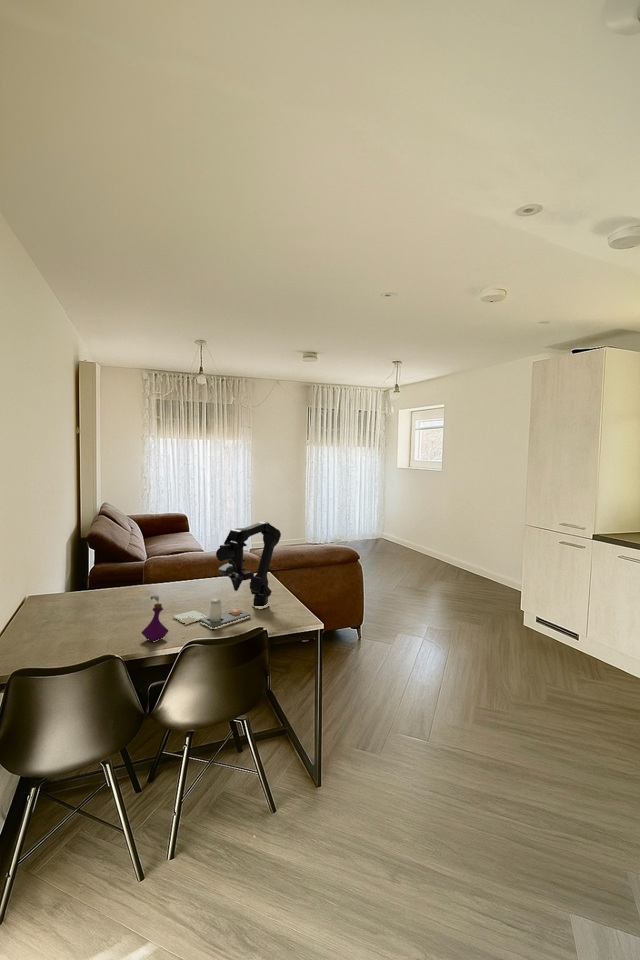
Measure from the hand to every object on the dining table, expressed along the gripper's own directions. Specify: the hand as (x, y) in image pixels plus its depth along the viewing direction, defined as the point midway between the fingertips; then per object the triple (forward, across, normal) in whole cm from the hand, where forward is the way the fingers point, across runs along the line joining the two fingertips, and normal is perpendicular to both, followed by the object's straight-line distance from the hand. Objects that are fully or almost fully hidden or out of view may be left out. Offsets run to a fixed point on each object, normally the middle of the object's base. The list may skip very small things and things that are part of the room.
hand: (235, 590), depth 205 cm
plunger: (+12, 0, 0) cm, 12 cm away
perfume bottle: (+13, -3, -37) cm, 40 cm away
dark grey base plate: (+13, 0, -5) cm, 14 cm away
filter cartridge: (+13, 0, -11) cm, 17 cm away
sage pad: (+13, -13, -15) cm, 24 cm away
